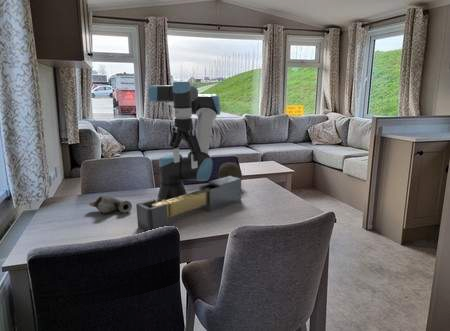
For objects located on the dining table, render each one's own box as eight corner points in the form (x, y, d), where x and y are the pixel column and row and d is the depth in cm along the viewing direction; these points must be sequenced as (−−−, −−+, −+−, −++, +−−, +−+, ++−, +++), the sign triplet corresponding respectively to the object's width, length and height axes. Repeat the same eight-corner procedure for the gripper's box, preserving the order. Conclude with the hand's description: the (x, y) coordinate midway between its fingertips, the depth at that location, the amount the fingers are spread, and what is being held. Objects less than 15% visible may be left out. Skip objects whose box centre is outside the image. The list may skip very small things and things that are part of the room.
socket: (138, 227, 137) (136, 204, 134) (155, 221, 142) (153, 198, 140) (150, 234, 130) (148, 210, 128) (167, 228, 136) (166, 204, 133)
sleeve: (199, 207, 159) (199, 184, 156) (230, 196, 173) (230, 175, 170) (210, 211, 153) (210, 187, 150) (241, 200, 167) (241, 178, 164)
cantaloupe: (247, 187, 188) (247, 162, 185) (230, 193, 178) (230, 167, 175) (229, 182, 198) (229, 158, 194) (212, 188, 188) (212, 162, 184)
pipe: (113, 223, 160) (84, 215, 151) (116, 207, 165) (88, 197, 155) (132, 213, 151) (103, 204, 142) (134, 196, 156) (106, 186, 146)
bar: (150, 217, 138) (149, 203, 137) (206, 199, 160) (206, 187, 158) (158, 222, 134) (157, 207, 132) (215, 202, 156) (215, 189, 154)
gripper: (160, 116, 147) (163, 161, 152) (193, 121, 129) (195, 172, 135) (174, 114, 152) (176, 158, 157) (208, 119, 134) (209, 168, 140)
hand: (185, 165), depth 146 cm, fingers open, 13 cm apart
